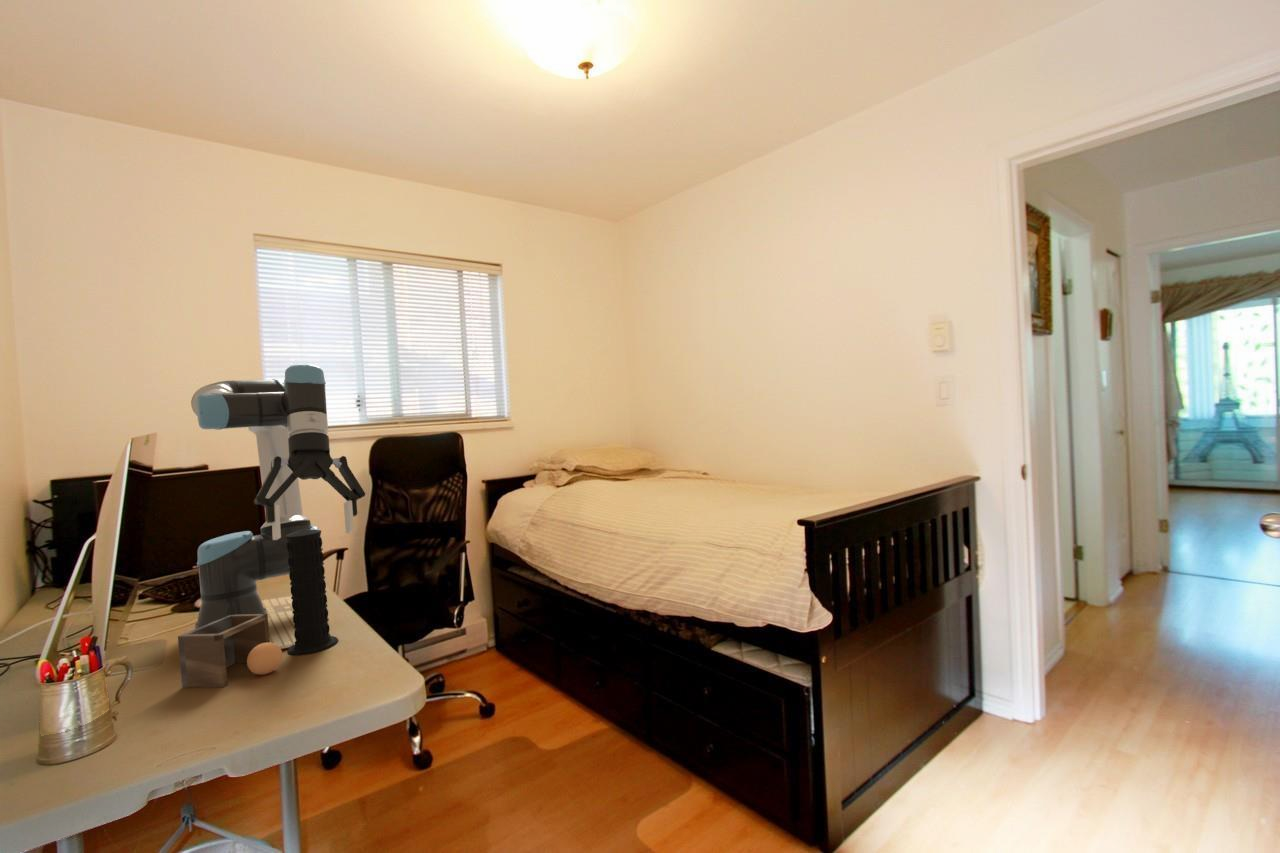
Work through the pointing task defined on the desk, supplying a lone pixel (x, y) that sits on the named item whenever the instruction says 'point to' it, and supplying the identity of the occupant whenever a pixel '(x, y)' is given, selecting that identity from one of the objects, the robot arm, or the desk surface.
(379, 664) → the desk surface
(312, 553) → the handle grip
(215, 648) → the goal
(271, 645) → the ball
